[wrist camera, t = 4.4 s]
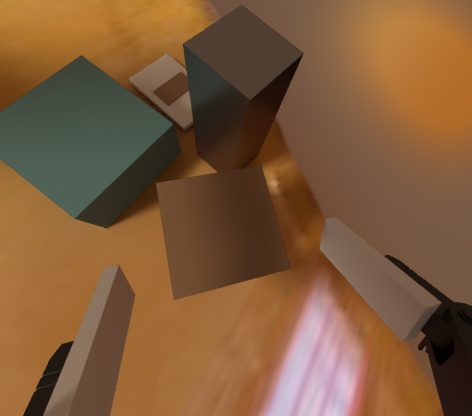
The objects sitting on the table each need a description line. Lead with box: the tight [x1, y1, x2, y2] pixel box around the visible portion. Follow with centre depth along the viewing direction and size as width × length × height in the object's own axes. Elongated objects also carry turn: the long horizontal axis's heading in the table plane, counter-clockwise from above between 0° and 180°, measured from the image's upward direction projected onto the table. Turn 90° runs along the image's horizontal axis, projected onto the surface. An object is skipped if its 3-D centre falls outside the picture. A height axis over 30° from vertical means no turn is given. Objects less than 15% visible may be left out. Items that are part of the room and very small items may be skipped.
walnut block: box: [156, 165, 291, 300], centre depth 15 cm, size 5×5×12 cm
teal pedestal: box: [0, 56, 181, 228], centre depth 19 cm, size 11×11×5 cm
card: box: [128, 53, 193, 131], centre depth 24 cm, size 9×6×1 cm, turn 48°
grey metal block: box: [183, 5, 304, 172], centre depth 17 cm, size 5×5×12 cm
